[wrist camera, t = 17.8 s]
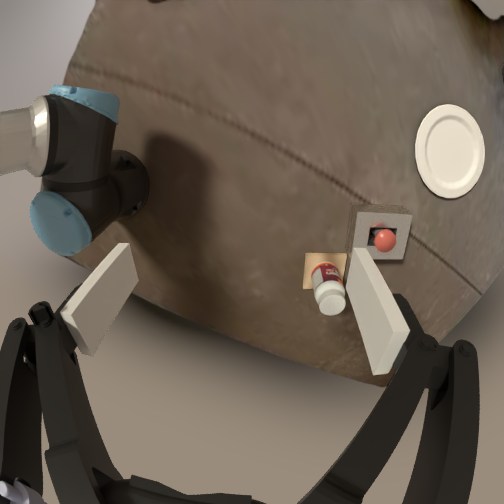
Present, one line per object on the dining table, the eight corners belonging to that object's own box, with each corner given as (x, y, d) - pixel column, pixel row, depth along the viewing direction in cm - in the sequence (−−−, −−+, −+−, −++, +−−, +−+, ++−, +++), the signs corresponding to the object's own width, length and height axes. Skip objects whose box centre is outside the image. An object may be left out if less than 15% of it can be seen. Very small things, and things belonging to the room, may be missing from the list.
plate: (452, 213, 51) (455, 215, 49) (394, 159, 47) (398, 160, 45) (492, 146, 41) (496, 148, 40) (439, 84, 37) (443, 84, 36)
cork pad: (302, 287, 62) (303, 288, 62) (305, 252, 58) (306, 254, 58) (340, 287, 62) (341, 288, 61) (346, 253, 57) (347, 254, 57)
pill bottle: (342, 266, 58) (354, 298, 48) (328, 287, 61) (337, 321, 51) (319, 256, 58) (327, 288, 48) (305, 278, 60) (310, 312, 51)
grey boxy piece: (344, 248, 57) (350, 259, 52) (350, 202, 52) (357, 211, 48) (394, 248, 56) (402, 260, 52) (402, 205, 51) (412, 214, 47)
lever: (364, 237, 54) (373, 252, 49) (367, 218, 52) (377, 231, 47) (383, 238, 54) (393, 252, 48) (386, 219, 52) (398, 232, 46)
